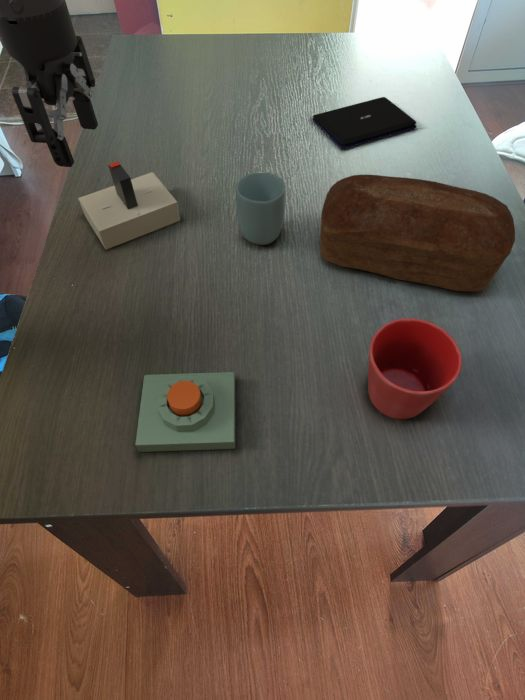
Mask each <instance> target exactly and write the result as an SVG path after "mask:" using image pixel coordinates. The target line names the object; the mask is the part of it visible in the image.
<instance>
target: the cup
mask: <svg viewBox="0 0 525 700" xmlns="http://www.w3.org/2000/svg"><path fill="white" fill-rule="evenodd" d="M235 186H236V187H235V203H236V205H235V206H236V217H237V222H238V228H239V230H240V233H241V235H242V236H243V238H244V239H245V240H246V241H248V242H249V243H251V244H254V245H259V246H265V245H269V244H272V243H273V242H275V241H276V240H277V239H278V237H279V236H280V234H281V233H282V230H283V226H284V222H285V213H286V202H287V201H286V200H287V199H286V198H287V187H286V186H287V185H286V182H285V180H284V179H283V178H282V177H280V176H279V175H277V174H276V173H272V172H268V171H253V172H249V173H246V174H245V175H243V176H242V177H241V178H240V179H239V180H238V181H237V183H236V185H235Z"/></svg>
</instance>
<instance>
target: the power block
mask: <svg viewBox="0 0 525 700" xmlns="http://www.w3.org/2000/svg"><path fill="white" fill-rule="evenodd" d="M235 373H236V372H235V371H227V372H226V371H225V372H224V371H223V372H195V373H194V372H190V373H189V372H188V373H160V374H144V375H143V380H142V381H143V382H142V388H141V389H142V391H141V397H140V404H139V405H140V406H139V413H138V421H137V429H136V436H135V444H134V445H135V447H136V449H137V451H138V452H139V453H149V452H150V453H151V452H153V453H154V452H177V451H179V452H182V451H208V450H209V451H210V450H235V449H236V374H235ZM180 381H191V382H193V383H195V384H196V385H197V386H198V387H199V389H200V393H201V398H202V403H201V406H200V408H199V409H198V410H197V411H196V412H195V413H193V414H191V415H187V416H181V415H178V414H176V413H174V412H173V411H172V410H171V408H170V405H169V402H168V399H167V394H168V391H169V389H170V388H171V386H173V385H174V384H175V383H177V382H180Z"/></svg>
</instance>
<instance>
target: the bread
mask: <svg viewBox="0 0 525 700" xmlns="http://www.w3.org/2000/svg"><path fill="white" fill-rule="evenodd" d="M319 234H320V235H319V241H320V252H321V257H322V258H323V259H324V260H325V261H326V262H328V263H329V262H330V263H332V264H335V265H337V266H341V267H344V268H348V269H349V268H350V269H355V270H361V271H366V272H369V273H374V274H377V275H381V276H384V277H389V278H392V279H396V280H401V281H405V282H412V283H418V284H423V285H424V284H425V285H428V286H432V287H433V286H434V287H438V288H442V289H447V290H449V291H450V290H451V291H457V292H482V291H483V290H484V289H486V287H488V286H489V284H490V283H491V281H492V280H493V278H494V277H495V276H496V274H497V273H498V271H499V270H500V268H501V267H502V265H503V263H504V262H505V260H506V259H507V258H508V257H509V255H511V252H512V249H513V247H514V245H515V243H516V227H515V222H514V217H513V215H512V212H511V210H510V209H509V207H508V205H507V204H505V203H503V202H502V201H501V200H499V199H497V198H496V197H494V196H492V195H489V194H487V193H484V192H481V191H478V190H477V191H476V190H472V189H469V188H464V187H460V186H454V185H451V184H446V183H442V182H438V181H433V180H427V179H419V178H411V177H401V176H390V175H389V176H387V175H378V174H354V175H353V174H352V175H350V176H347V177H344V178H342V179H340V180H338V181H336V182H335V183H334V184H333V185H331V186H330V188H329V190H328V191H327V193H326V196H325V198H324V202H323V205H322V210H321V217H320V233H319Z"/></svg>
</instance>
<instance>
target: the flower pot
mask: <svg viewBox="0 0 525 700" xmlns="http://www.w3.org/2000/svg"><path fill="white" fill-rule="evenodd" d="M367 362H368V363H367V364H368V366H367V368H368V371H367V373H368V375H367V378H368V379H367V382H368V383H367V384H368V385H367V390H368V396H369V400H370V402H371V403H372V405H373V407H374V408H375V409H377V410H378V411H379V412H380V413H381V414H383V415H384V416H387V417H389V418H391V419H396V420H407V419H411V418H414V417H416V416H418V415H419V414H421V413H422V412H423V411H425V410H426V409H427V408H428V407H430V406H431V405H432V404H433V403H434V402H435V401H437V399H438V398H440V397H441V396H442V395H443V394H444V393H445V392H446V391H447V390H448V389H449V388H450V387H451V386H453V384H454V383H455V382H456V381H457V379H459V376H460V374H461V371H462V366H463V356H462V353H461V349H460V347H459V345H458V343H457V341H456V340H455V338H454V337H453V336H451V335H450V333H449V332H447V331H446V330H444V329H443V328H442V327H441V326H439V325H437V324H435V323H432V322H430V321H429V320H428V321H427V320H424V319H420V318H411V317H410V318H409V317H408V318H407V317H405V318H399V319H395V320H391V321H390V322H387V323H385V324H384V325H382V326H381V327H380V328H379V329H378V330H376V332H375V333H374V335H373V337H372V339H371V340H370V344H369V349H368V361H367Z"/></svg>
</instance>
